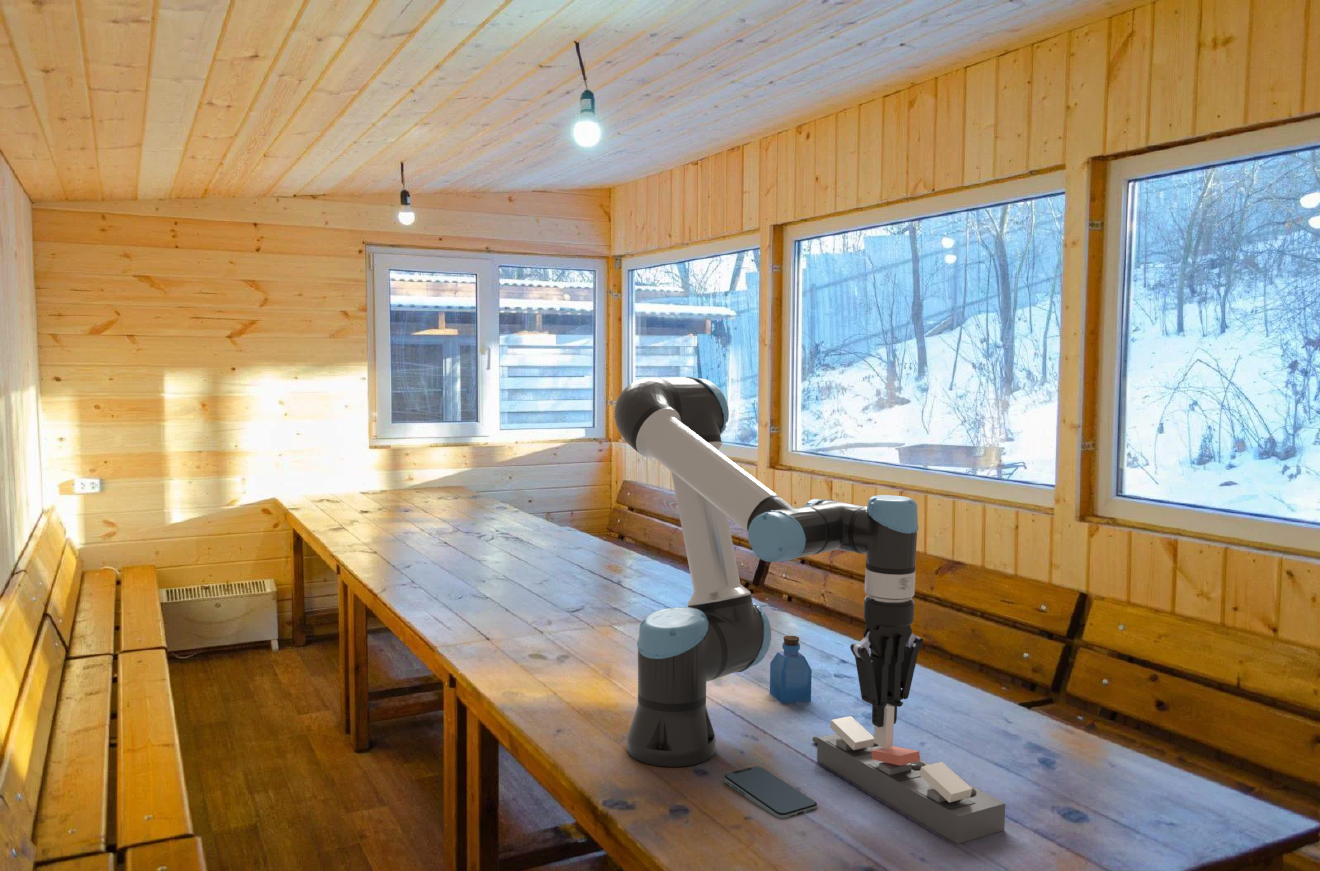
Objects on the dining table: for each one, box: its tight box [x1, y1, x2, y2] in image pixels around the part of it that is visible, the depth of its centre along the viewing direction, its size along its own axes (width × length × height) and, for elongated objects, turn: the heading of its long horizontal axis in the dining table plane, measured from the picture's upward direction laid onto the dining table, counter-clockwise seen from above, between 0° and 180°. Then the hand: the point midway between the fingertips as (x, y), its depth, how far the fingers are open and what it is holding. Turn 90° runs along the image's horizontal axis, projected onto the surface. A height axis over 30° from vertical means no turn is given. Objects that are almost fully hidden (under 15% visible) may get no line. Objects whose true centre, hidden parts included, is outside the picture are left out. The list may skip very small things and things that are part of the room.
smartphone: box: [723, 765, 818, 819], centre depth 154 cm, size 8×2×15 cm
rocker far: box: [829, 715, 874, 750], centre depth 163 cm, size 6×4×1 cm, turn 28°
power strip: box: [812, 733, 1006, 845], centre depth 158 cm, size 39×9×5 cm, turn 28°
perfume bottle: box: [769, 635, 813, 704], centre depth 198 cm, size 6×6×12 cm
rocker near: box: [919, 761, 972, 803], centre depth 144 cm, size 6×4×1 cm, turn 28°
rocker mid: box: [871, 745, 921, 765], centre depth 154 cm, size 6×4×1 cm, turn 28°
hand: (883, 744), depth 156 cm, fingers closed
